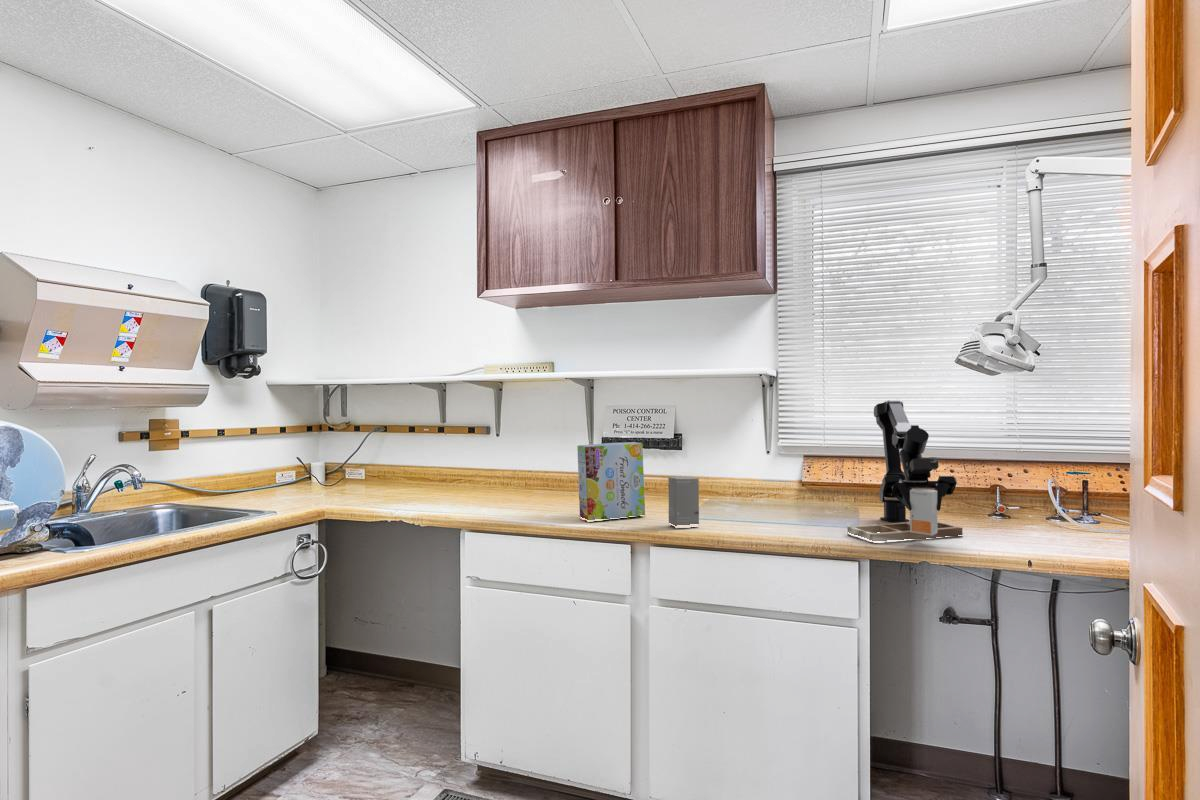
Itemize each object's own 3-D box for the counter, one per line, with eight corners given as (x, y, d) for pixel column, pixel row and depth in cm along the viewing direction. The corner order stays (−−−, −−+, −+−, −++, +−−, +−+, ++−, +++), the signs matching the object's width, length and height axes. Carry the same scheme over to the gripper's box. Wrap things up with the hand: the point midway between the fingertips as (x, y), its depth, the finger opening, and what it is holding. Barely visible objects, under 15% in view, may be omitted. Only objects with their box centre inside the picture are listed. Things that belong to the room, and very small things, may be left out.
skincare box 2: (909, 532, 184) (908, 489, 184) (915, 530, 187) (914, 488, 187) (932, 536, 180) (932, 492, 180) (938, 533, 183) (937, 490, 183)
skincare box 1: (675, 529, 207) (675, 479, 207) (667, 525, 214) (666, 476, 214) (700, 527, 209) (700, 477, 209) (691, 523, 216) (691, 475, 216)
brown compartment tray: (847, 535, 196) (847, 526, 195) (931, 528, 203) (931, 520, 203) (874, 543, 184) (873, 534, 184) (962, 536, 191) (962, 527, 191)
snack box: (635, 513, 236) (633, 441, 235) (646, 517, 228) (644, 442, 227) (577, 519, 227) (576, 444, 227) (587, 523, 219) (585, 445, 219)
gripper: (883, 447, 189) (893, 492, 178) (954, 447, 186) (968, 493, 175) (877, 471, 197) (886, 515, 186) (945, 471, 193) (958, 516, 183)
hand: (924, 509), depth 182 cm, fingers closed on skincare box 2, 7 cm apart
